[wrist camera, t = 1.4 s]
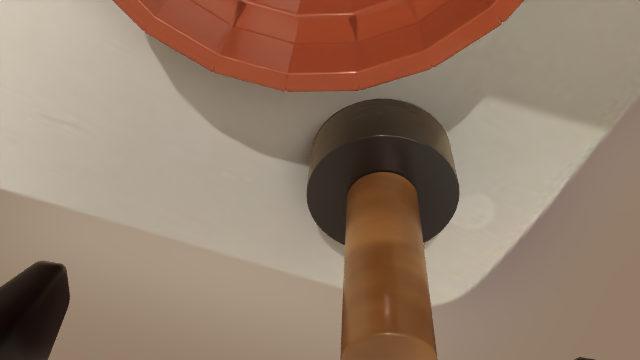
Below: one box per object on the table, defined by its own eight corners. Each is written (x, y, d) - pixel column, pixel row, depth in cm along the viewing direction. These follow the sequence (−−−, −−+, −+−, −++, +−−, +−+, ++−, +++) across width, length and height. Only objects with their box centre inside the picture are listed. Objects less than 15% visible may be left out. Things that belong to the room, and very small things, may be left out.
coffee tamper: (474, 120, 21) (536, 325, 14) (419, 224, 24) (444, 434, 17) (333, 81, 20) (315, 273, 13) (296, 193, 24) (266, 397, 16)
